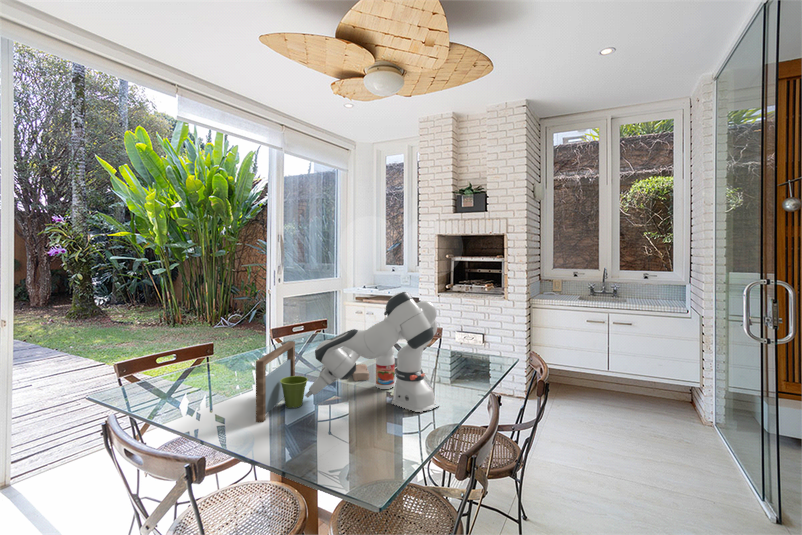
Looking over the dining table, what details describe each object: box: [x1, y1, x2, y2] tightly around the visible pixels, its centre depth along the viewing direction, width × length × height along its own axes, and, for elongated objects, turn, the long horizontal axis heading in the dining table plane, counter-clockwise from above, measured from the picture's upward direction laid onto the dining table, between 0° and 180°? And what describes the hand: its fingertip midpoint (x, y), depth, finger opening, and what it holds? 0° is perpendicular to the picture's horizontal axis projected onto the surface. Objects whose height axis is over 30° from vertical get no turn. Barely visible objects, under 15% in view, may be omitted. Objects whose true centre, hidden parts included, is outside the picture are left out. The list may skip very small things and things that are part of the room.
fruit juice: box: [375, 345, 396, 390], centre depth 193 cm, size 9×9×28 cm
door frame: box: [255, 340, 296, 423], centre depth 168 cm, size 3×36×24 cm, turn 176°
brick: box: [351, 363, 370, 382], centre depth 211 cm, size 17×8×5 cm, turn 12°
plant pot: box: [280, 375, 309, 409], centre depth 168 cm, size 12×12×11 cm
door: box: [266, 359, 291, 415], centre depth 169 cm, size 3×30×15 cm, turn 177°
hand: (309, 392), depth 170 cm, fingers open, 8 cm apart
